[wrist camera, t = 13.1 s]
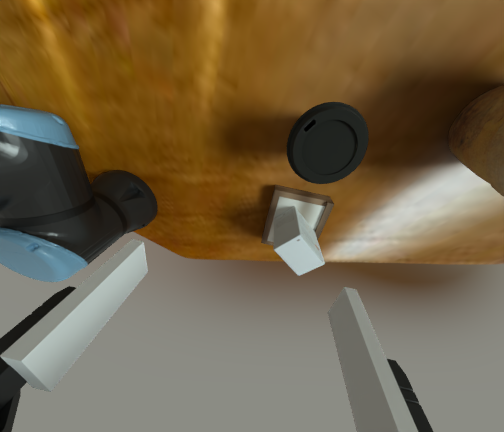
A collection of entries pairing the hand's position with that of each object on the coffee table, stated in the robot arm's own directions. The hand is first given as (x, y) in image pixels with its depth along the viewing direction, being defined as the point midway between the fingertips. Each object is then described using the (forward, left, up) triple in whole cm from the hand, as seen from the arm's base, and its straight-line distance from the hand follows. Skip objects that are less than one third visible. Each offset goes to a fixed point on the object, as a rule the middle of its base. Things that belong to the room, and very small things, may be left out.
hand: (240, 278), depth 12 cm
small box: (+9, -11, -28) cm, 31 cm away
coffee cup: (+7, +7, -31) cm, 32 cm away
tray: (+9, -11, -31) cm, 34 cm away
